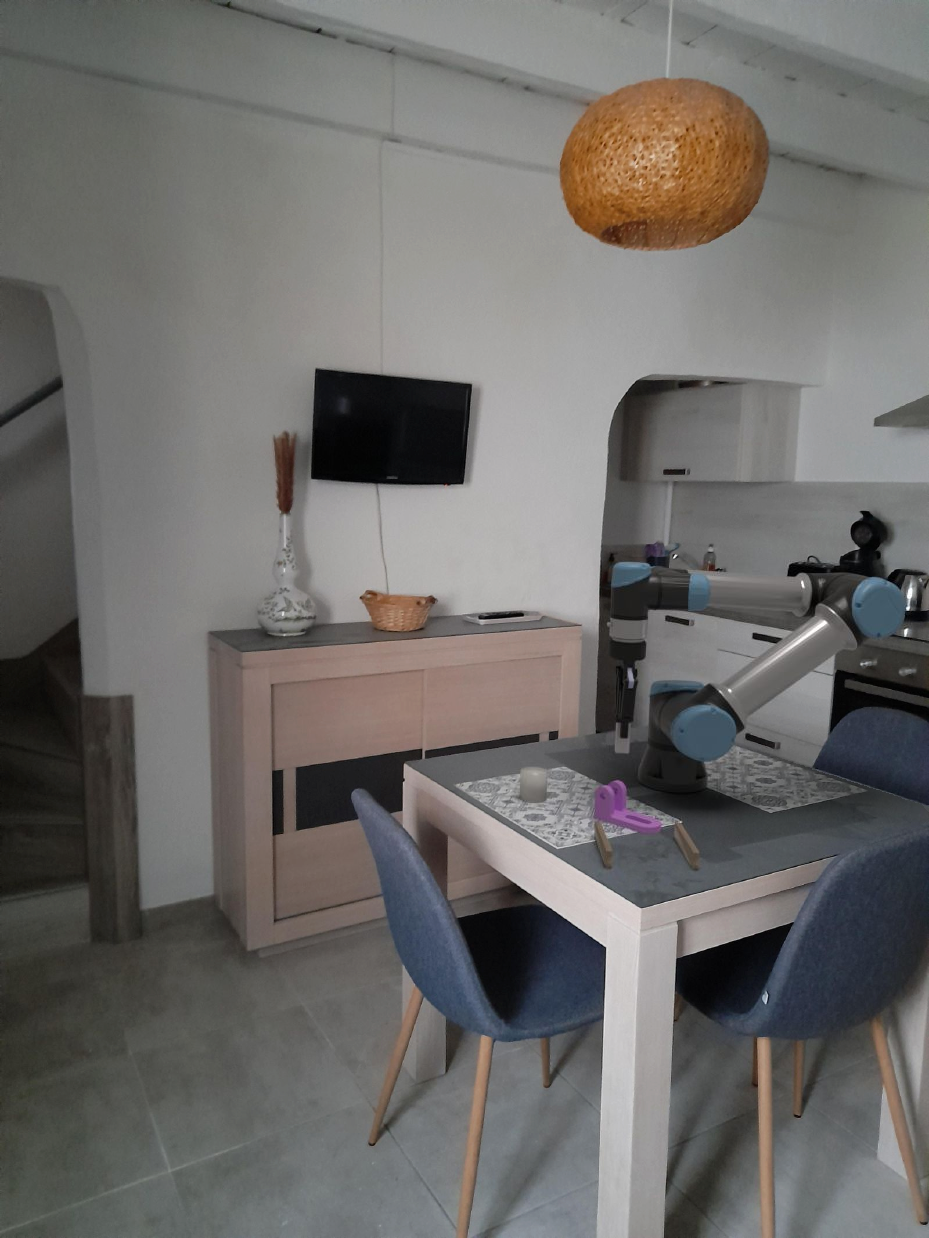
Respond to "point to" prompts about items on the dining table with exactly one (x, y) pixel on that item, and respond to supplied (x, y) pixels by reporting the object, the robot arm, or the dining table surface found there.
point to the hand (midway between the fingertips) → (621, 751)
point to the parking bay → (679, 835)
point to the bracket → (621, 810)
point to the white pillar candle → (533, 784)
